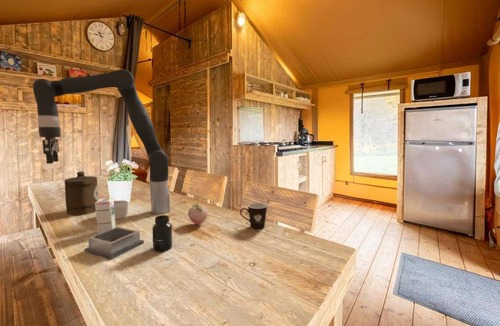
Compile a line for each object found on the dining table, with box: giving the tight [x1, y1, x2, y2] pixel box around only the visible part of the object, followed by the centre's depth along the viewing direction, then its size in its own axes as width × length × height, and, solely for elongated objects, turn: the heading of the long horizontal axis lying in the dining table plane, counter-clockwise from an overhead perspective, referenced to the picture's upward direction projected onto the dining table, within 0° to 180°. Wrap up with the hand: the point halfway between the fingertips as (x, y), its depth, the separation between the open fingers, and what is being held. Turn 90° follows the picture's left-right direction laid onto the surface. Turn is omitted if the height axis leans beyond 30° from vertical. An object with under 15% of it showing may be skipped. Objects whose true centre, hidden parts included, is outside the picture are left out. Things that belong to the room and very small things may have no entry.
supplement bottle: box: [151, 214, 173, 253], centre depth 91 cm, size 7×7×12 cm
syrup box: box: [95, 197, 117, 234], centre depth 106 cm, size 6×6×14 cm
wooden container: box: [64, 171, 100, 216], centre depth 134 cm, size 15×15×22 cm
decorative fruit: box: [187, 203, 209, 225], centre depth 115 cm, size 9×8×10 cm
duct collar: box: [84, 226, 145, 260], centre depth 92 cm, size 14×14×5 cm
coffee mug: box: [239, 202, 268, 230], centre depth 113 cm, size 12×9×10 cm
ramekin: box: [114, 200, 130, 221], centre depth 126 cm, size 13×13×7 cm
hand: (52, 162), depth 112 cm, fingers open, 8 cm apart
